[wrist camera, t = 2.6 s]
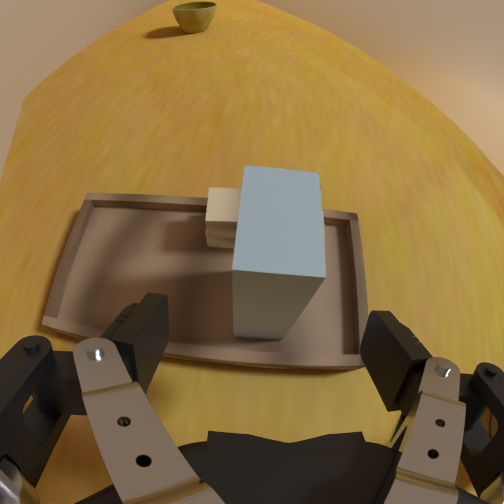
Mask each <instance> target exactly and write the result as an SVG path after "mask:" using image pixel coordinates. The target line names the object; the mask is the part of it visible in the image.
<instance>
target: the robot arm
mask: <svg viewBox="0 0 504 504" xmlns="http://www.w3.org/2000/svg"><path fill="white" fill-rule="evenodd" d="M168 339H169V311H168V297H167V295H166V294H158V293H150V292H148V293H147V294H146V295H145V296H144V298H143V299H142V300H141V301H140V303H132V304H131V305H129V306H127V307H125V308H124V309H123V310H122V311H121V312H120V314H119V316H117V317H116V318H115V319H114V322H112V323H111V324H110V326H109V327H108V328H107V329H106V330H105V332H104V333H103V334H102V335H101V337H100V338H89V339H86V340H83V341H81V342H79V343H78V344H77V345H76V346H75V348H74V350H73V352H69V351H53V349H52V346H51V343H50V341H49V340H48V339H47V338H46V337H43V336H37V335H35V336H28V337H25V338H23V339H21V340H19V341H18V342H17V343H16V344H15V345H14V346H13V347H12V348H11V349H10V350H9V351H8V352H7V353H6V354H5V355H4V356H3V357H2V358H1V360H0V504H41V502H40V497H39V495H38V493H37V491H36V489H35V488H36V485H37V483H38V481H39V479H40V476H41V474H42V472H43V470H44V468H45V466H46V463H47V461H48V459H49V457H50V455H51V453H52V451H53V449H54V447H55V445H56V443H57V441H58V439H59V437H60V435H61V433H62V431H63V429H64V427H65V425H66V423H67V421H68V419H69V418H70V416H71V414H72V415H88V418H89V421H90V424H91V427H92V430H93V433H94V436H95V439H96V442H97V445H98V447H99V450H100V453H101V455H102V458H103V460H104V463H105V465H106V468H107V470H108V472H109V475H110V477H111V479H112V481H113V484H112V485H110V486H108V487H106V488H105V489H103V490H101V491H99V492H97V493H95V494H93V495H91V496H89V497H87V498H85V499H83V500H81V501H79V502H77V503H75V504H504V372H503V371H502V370H501V369H500V368H499V367H497V366H495V365H493V364H490V363H480V364H478V365H477V367H476V369H475V371H474V373H473V374H462V373H460V370H459V368H458V367H457V365H455V364H454V363H453V362H451V361H450V360H448V359H445V358H441V357H432V355H431V354H430V353H429V352H428V351H427V349H426V348H425V347H424V346H423V345H422V343H421V342H419V340H418V339H417V337H415V335H414V334H413V333H412V332H411V330H410V329H409V328H407V327H406V326H404V325H403V324H401V323H400V322H399V321H398V320H397V319H396V318H395V316H394V315H393V314H392V313H391V312H390V311H374V310H373V311H371V313H370V314H369V317H368V321H367V324H366V328H365V331H364V334H363V338H362V341H361V345H360V356H361V359H362V361H363V362H364V364H365V366H366V368H367V370H368V372H369V374H370V376H371V378H372V380H373V382H374V384H375V386H376V388H377V390H378V392H379V394H380V396H381V398H382V401H383V403H384V405H385V407H386V409H387V411H388V412H390V411H397V410H401V414H400V416H399V418H398V420H397V422H396V425H395V427H394V430H393V432H392V434H391V437H390V439H389V441H388V444H387V446H384V445H380V444H377V443H371V442H365V439H364V436H363V434H362V432H352V433H340V434H327V435H323V436H319V437H315V438H311V439H307V440H303V441H298V442H294V443H285V442H280V441H275V440H271V439H266V438H262V437H257V436H253V435H249V434H237V433H225V432H215V431H208V438H207V441H204V442H196V443H190V444H186V445H182V446H180V447H177V446H176V445H175V443H174V442H173V440H172V439H171V437H170V436H169V434H168V432H167V431H166V429H165V428H164V426H163V424H162V423H161V421H160V419H159V418H158V416H157V414H156V413H155V411H154V409H153V408H152V406H151V404H150V402H149V401H148V399H147V397H146V395H145V394H146V391H147V389H148V387H149V385H150V382H151V380H152V378H153V375H154V373H155V371H156V369H157V366H158V364H159V362H160V360H161V357H162V355H163V353H164V351H165V348H166V346H167V344H168ZM31 395H32V397H33V400H32V402H31V403H30V405H29V406H28V408H27V409H26V411H25V412H24V414H23V407H24V405H25V403H26V402H27V400H28V399H29V397H30V396H31ZM488 408H489V410H490V411H491V413H492V418H491V439H490V437H489V435H488V434H487V432H486V431H485V429H484V427H483V426H482V424H481V423H480V420H481V419H482V417H483V416H484V414H485V413H486V411H487V410H488ZM460 458H461V461H462V463H463V465H464V467H465V469H466V471H467V473H468V475H469V478H470V480H471V482H472V484H473V486H474V489H475V491H476V493H477V496H478V497H476V496H474V495H472V494H470V493H468V492H466V491H465V490H463V489H461V488H459V487H457V486H455V481H456V476H457V471H458V466H459V461H460Z"/></svg>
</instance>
